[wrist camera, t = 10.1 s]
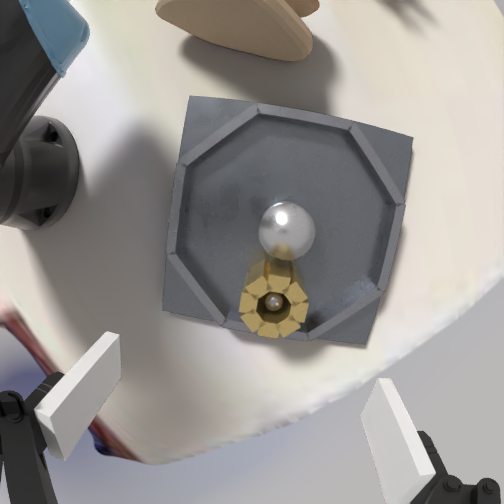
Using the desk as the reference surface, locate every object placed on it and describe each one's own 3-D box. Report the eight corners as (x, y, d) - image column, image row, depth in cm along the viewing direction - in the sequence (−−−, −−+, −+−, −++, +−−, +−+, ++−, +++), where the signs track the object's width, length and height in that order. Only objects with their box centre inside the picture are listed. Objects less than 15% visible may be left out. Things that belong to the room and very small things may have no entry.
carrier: (166, 305, 37) (147, 329, 31) (193, 98, 32) (175, 82, 25) (362, 338, 36) (376, 366, 30) (407, 138, 31) (433, 132, 24)
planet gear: (250, 254, 33) (245, 270, 28) (307, 264, 33) (313, 281, 27) (242, 306, 35) (235, 331, 29) (296, 315, 35) (299, 342, 29)
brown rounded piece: (245, 29, 35) (346, 27, 26) (217, 72, 35) (319, 78, 27) (180, -35, 24) (284, -70, 15) (140, 9, 24) (239, -26, 16)
